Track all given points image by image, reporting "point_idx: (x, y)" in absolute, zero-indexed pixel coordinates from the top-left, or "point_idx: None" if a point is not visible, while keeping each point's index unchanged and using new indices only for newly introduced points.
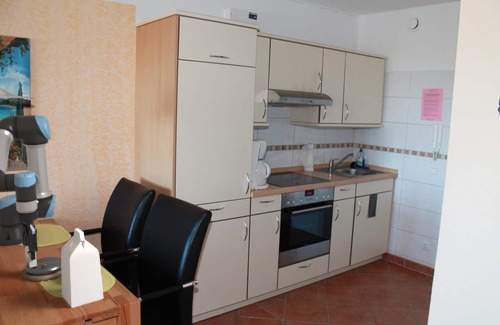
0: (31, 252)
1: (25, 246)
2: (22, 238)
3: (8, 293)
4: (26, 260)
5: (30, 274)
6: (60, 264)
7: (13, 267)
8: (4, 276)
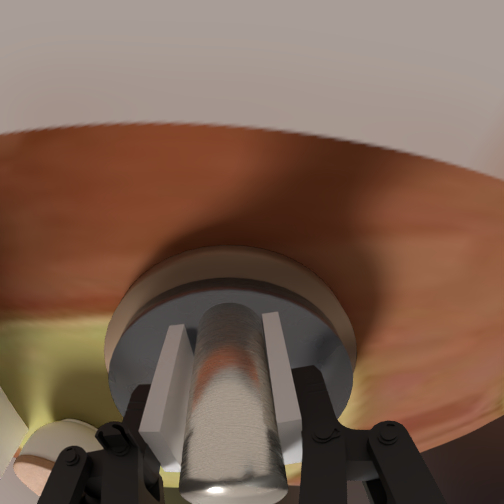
0: (72, 449)
1: (224, 472)
2: (432, 492)
3: (37, 149)
4: (214, 343)
5: (152, 299)
6: None
7: (440, 211)
8: (332, 137)
